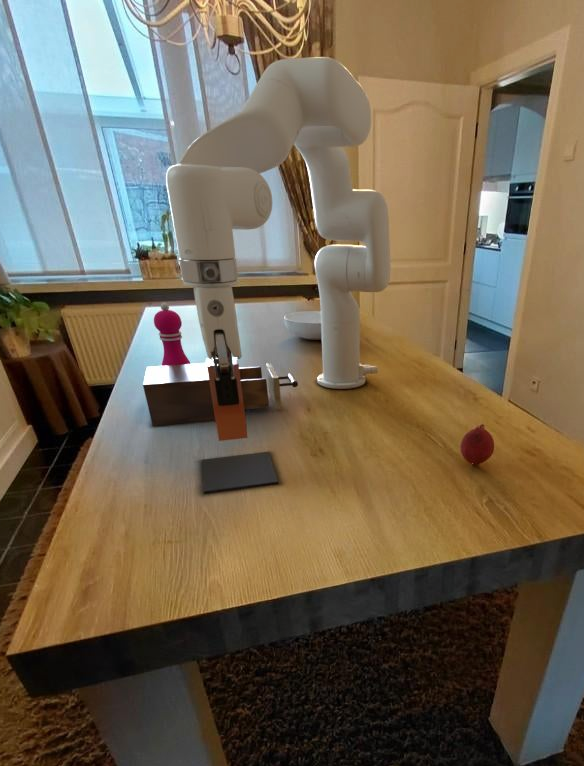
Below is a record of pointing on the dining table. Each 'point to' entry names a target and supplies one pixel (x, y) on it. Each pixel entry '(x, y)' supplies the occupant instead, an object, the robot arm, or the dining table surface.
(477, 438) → the onion
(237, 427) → the tall orange-brown block
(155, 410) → the cabinet
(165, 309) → the pepper mill
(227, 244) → the robot arm
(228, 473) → the mat
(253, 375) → the drawer
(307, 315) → the serving bowl
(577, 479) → the dining table surface
